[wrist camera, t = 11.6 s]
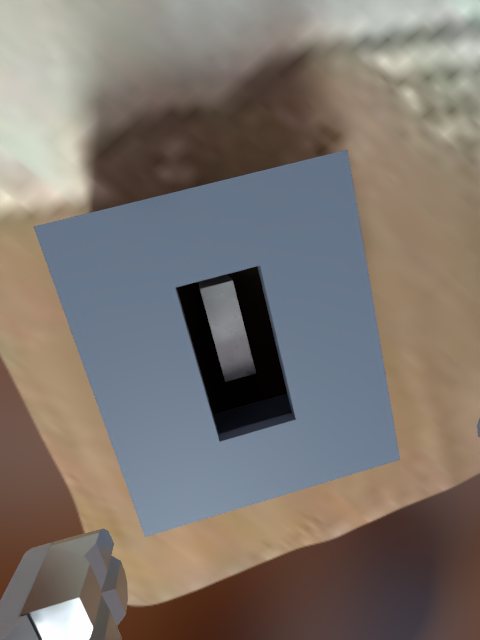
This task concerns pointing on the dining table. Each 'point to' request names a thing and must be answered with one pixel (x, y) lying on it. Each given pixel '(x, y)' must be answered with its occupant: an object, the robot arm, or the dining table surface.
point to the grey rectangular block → (227, 327)
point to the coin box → (179, 355)
